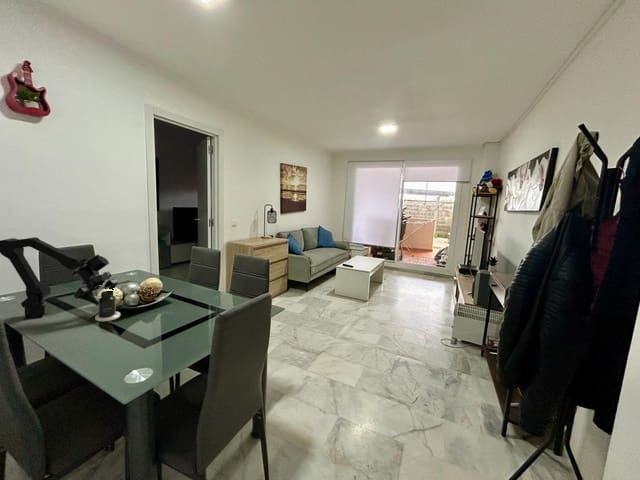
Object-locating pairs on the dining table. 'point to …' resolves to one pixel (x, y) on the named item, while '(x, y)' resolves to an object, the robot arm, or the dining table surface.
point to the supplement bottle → (107, 304)
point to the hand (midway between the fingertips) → (107, 301)
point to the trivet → (107, 317)
